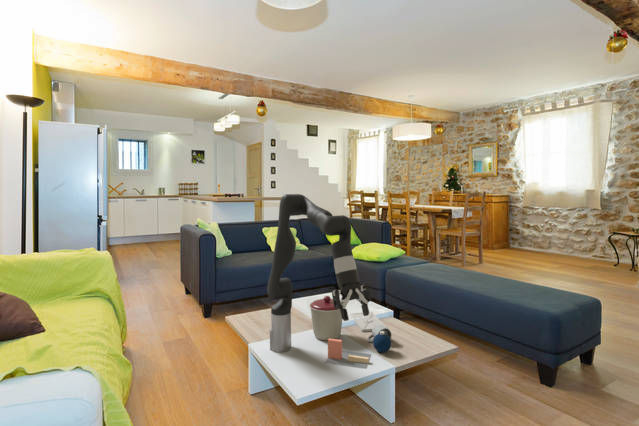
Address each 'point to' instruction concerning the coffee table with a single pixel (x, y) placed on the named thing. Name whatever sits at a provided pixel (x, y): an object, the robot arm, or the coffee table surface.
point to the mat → (351, 359)
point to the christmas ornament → (382, 342)
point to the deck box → (334, 348)
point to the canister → (325, 319)
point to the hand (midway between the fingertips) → (356, 318)
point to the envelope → (366, 321)
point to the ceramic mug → (377, 330)
